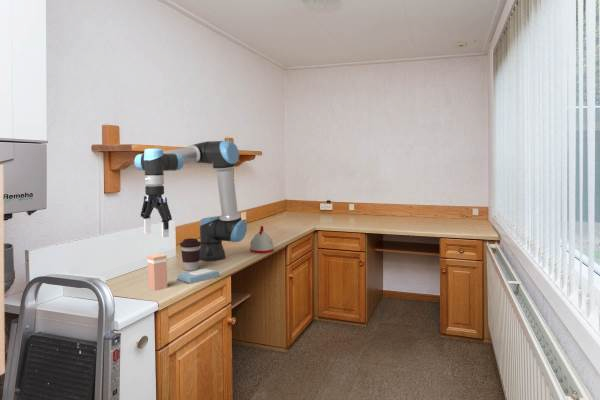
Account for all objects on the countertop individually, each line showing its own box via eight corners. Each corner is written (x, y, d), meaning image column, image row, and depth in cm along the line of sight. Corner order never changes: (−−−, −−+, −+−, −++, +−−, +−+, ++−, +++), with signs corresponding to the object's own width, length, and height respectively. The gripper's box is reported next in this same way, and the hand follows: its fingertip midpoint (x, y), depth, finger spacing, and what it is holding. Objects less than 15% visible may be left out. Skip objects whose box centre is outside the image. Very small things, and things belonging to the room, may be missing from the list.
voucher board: (205, 272, 215) (205, 267, 215) (219, 276, 209) (218, 270, 208) (175, 280, 203) (175, 274, 202) (188, 284, 196) (188, 278, 196)
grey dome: (275, 249, 273) (274, 224, 272) (271, 253, 259) (271, 228, 258) (252, 248, 274) (252, 224, 273) (247, 253, 261) (247, 227, 259)
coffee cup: (191, 265, 230) (191, 237, 229) (205, 268, 224) (204, 239, 223) (176, 269, 222) (175, 240, 220) (190, 272, 216) (189, 242, 215)
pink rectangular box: (160, 285, 194) (160, 253, 193) (167, 287, 191) (166, 255, 190) (148, 288, 190) (147, 256, 188) (154, 290, 186) (153, 257, 185)
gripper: (131, 184, 193) (133, 233, 195) (163, 187, 176) (165, 239, 178) (146, 183, 198) (148, 231, 200) (179, 186, 182) (181, 237, 184)
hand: (156, 235), depth 189 cm, fingers open, 13 cm apart
